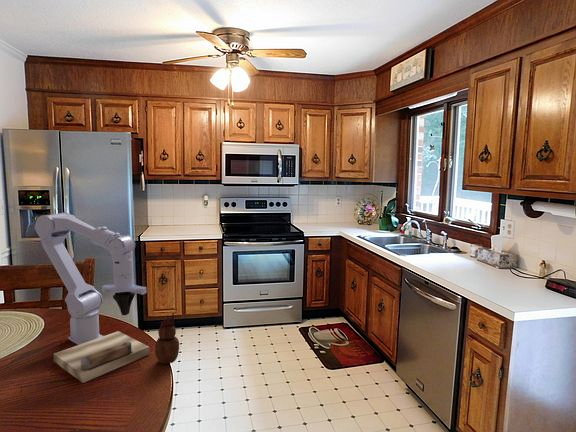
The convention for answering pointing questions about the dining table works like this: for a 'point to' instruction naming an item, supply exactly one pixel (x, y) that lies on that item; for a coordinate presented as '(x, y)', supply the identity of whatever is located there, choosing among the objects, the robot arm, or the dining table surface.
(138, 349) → the maple seat
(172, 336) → the wooden figurine
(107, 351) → the walnut leg
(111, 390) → the dining table surface
